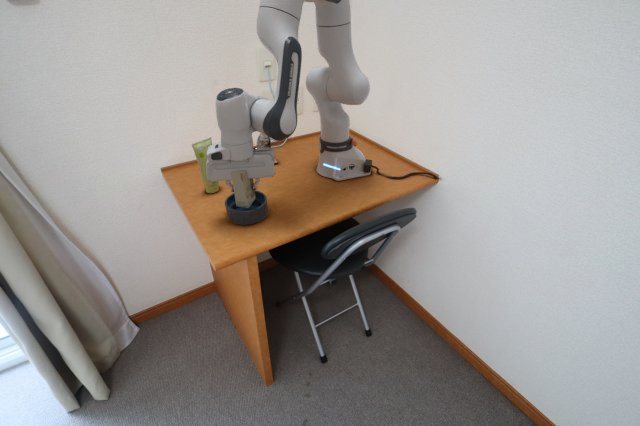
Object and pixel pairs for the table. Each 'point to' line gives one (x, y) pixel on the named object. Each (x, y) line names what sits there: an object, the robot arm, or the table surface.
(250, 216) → the bowl
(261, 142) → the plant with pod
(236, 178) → the cosmetic box
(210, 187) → the tube
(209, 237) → the table surface
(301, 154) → the table surface
